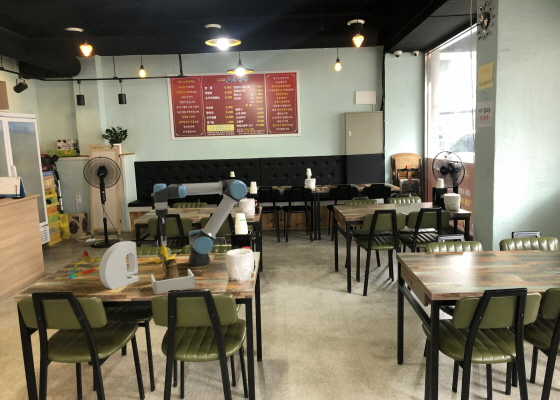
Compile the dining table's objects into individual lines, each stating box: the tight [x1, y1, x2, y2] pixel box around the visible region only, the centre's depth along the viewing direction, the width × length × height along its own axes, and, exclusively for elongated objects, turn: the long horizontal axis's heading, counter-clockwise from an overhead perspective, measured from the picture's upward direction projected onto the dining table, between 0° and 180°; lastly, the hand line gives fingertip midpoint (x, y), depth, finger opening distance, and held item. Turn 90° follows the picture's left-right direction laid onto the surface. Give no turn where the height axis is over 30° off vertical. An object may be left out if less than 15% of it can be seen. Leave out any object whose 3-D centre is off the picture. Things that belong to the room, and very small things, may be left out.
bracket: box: [98, 240, 140, 290], centre depth 251 cm, size 7×21×25 cm, turn 142°
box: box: [150, 268, 196, 295], centre depth 244 cm, size 22×15×7 cm
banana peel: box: [149, 245, 177, 264], centre depth 298 cm, size 17×19×17 cm
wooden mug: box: [157, 252, 180, 280], centre depth 259 cm, size 9×14×18 cm, turn 146°
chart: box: [68, 250, 102, 280], centre depth 281 cm, size 30×3×15 cm, turn 150°
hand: (164, 245), depth 269 cm, fingers closed
